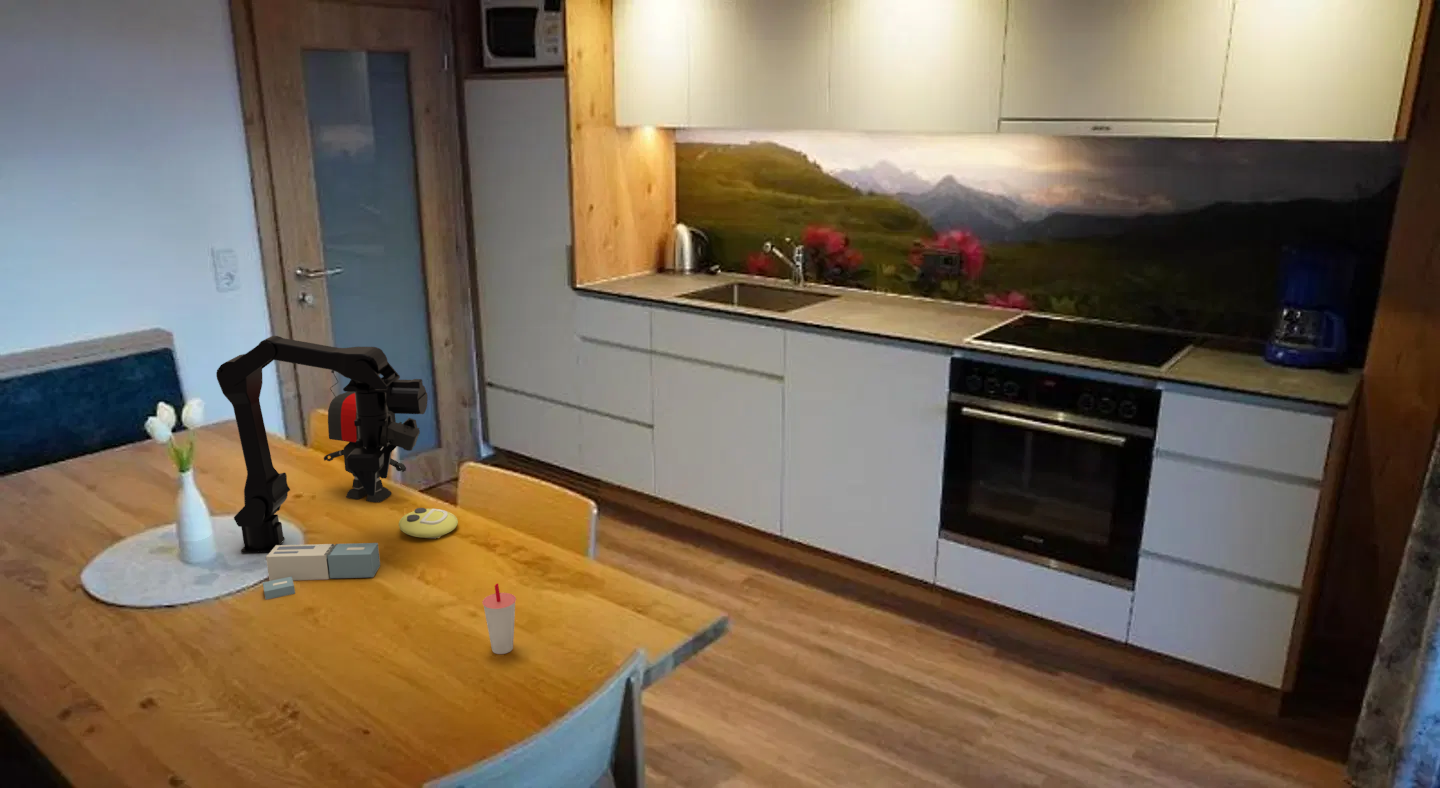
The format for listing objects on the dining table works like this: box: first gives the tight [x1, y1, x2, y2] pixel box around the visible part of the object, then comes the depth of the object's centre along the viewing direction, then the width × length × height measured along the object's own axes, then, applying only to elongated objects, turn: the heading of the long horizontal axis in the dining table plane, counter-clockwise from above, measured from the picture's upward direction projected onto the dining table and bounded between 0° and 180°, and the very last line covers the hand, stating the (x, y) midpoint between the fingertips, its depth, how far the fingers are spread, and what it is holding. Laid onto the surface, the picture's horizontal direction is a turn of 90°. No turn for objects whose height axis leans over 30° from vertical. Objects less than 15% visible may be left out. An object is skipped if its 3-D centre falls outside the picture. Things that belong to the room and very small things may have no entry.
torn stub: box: [262, 577, 296, 600], centre depth 180 cm, size 5×4×2 cm
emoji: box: [398, 507, 459, 539], centre depth 205 cm, size 4×12×12 cm
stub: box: [327, 542, 381, 579], centre depth 186 cm, size 8×5×5 cm, turn 93°
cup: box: [482, 583, 517, 655], centre depth 159 cm, size 5×5×12 cm
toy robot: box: [323, 370, 407, 503], centre depth 220 cm, size 22×9×30 cm, turn 71°
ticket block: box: [265, 543, 335, 581], centre depth 186 cm, size 11×5×5 cm, turn 93°
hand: (378, 486), depth 194 cm, fingers open, 9 cm apart
